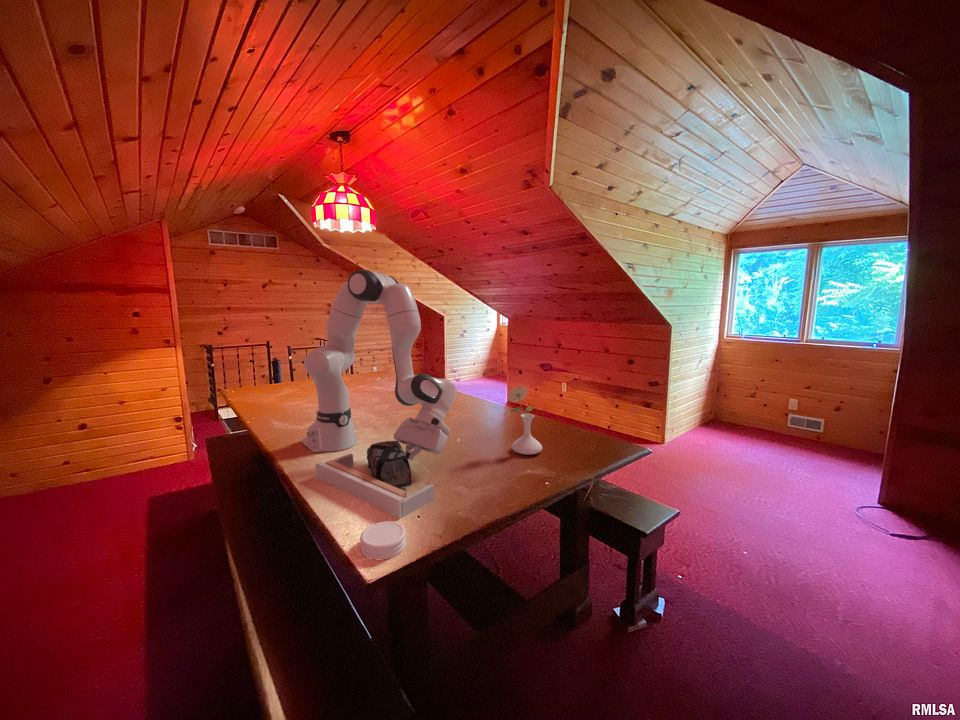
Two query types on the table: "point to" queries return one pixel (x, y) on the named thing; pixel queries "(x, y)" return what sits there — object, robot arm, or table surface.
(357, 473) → the tan wooden bar
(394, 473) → the black mottled block
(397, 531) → the coaster
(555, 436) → the table surface
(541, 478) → the table surface
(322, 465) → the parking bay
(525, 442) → the flower in vase
